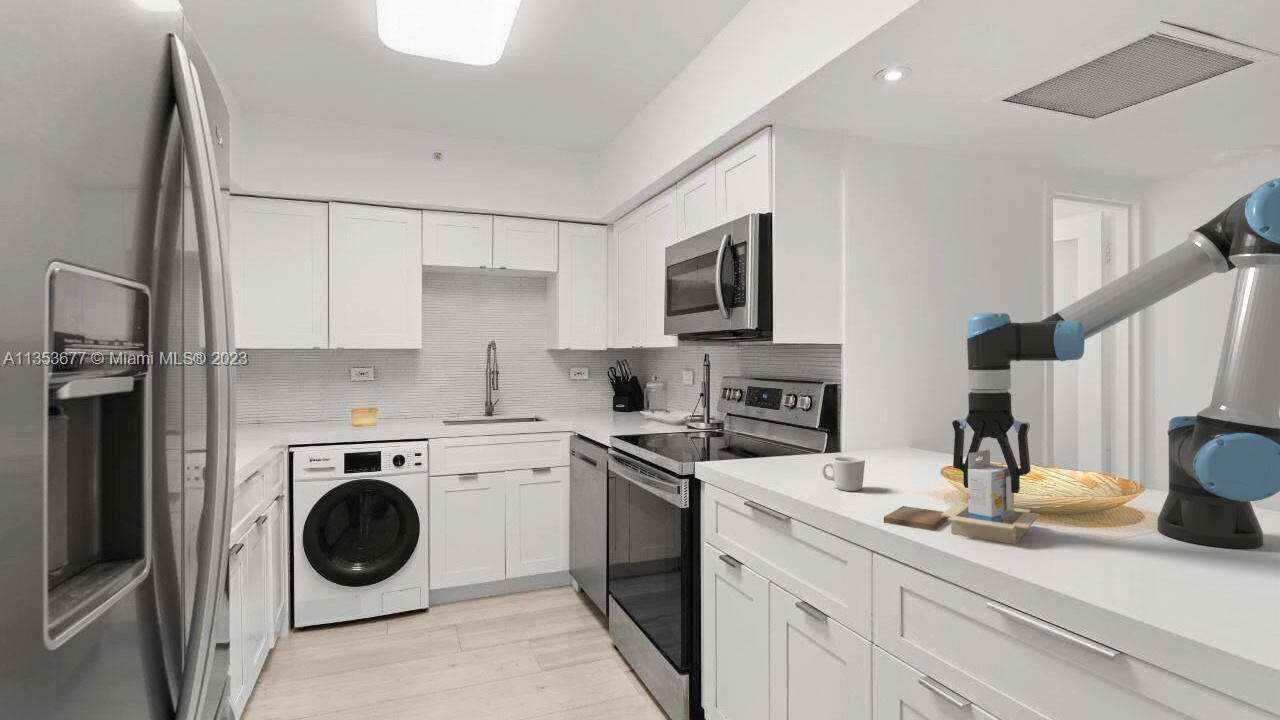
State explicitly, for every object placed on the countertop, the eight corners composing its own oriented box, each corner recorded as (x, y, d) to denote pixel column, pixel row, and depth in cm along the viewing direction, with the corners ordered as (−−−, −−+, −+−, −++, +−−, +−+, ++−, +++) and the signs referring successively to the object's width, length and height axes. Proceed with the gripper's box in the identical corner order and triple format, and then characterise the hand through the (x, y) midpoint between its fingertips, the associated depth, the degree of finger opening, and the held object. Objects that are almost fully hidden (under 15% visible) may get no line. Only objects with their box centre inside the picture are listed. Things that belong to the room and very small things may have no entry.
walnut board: (950, 518, 139) (950, 512, 139) (933, 530, 130) (933, 524, 130) (903, 511, 146) (903, 505, 146) (883, 522, 137) (883, 516, 137)
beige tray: (1041, 528, 130) (1041, 511, 130) (1025, 549, 117) (1025, 530, 117) (960, 516, 140) (960, 500, 140) (936, 534, 127) (936, 517, 127)
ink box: (993, 532, 124) (991, 456, 124) (968, 527, 128) (966, 453, 128) (1015, 525, 129) (1014, 451, 129) (990, 520, 133) (988, 448, 133)
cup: (820, 490, 168) (820, 460, 168) (823, 484, 175) (823, 455, 175) (864, 493, 164) (864, 462, 164) (865, 487, 171) (865, 457, 171)
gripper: (1048, 390, 125) (1050, 509, 125) (944, 389, 137) (946, 497, 138) (1041, 393, 119) (1043, 517, 120) (933, 391, 132) (935, 503, 132)
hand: (991, 506), depth 129 cm, fingers closed on ink box, 6 cm apart
